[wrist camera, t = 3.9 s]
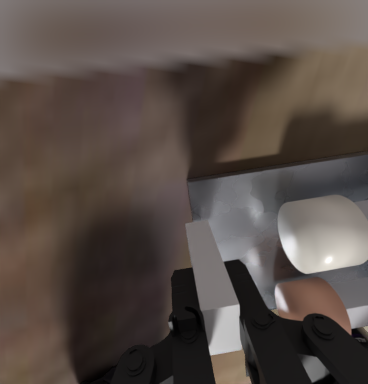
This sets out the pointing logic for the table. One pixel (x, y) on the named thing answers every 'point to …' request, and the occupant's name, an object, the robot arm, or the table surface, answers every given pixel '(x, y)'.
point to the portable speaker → (104, 378)
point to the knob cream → (324, 233)
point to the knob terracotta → (325, 300)
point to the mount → (274, 213)
